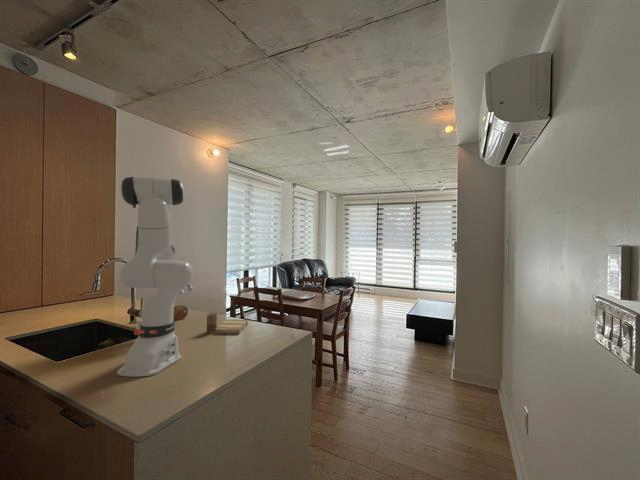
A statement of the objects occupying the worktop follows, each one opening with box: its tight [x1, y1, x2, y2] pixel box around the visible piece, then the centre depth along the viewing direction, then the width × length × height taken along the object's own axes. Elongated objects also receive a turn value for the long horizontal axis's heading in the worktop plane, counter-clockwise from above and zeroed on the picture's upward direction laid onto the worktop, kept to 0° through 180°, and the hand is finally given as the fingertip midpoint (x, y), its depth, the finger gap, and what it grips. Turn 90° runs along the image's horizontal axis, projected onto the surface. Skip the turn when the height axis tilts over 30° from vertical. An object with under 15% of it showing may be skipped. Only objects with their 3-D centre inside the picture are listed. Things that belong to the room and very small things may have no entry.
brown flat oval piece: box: [173, 304, 189, 321], centre depth 167 cm, size 15×3×8 cm, turn 143°
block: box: [206, 312, 218, 334], centre depth 148 cm, size 4×4×9 cm
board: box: [214, 319, 249, 335], centre depth 153 cm, size 16×12×2 cm
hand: (187, 291), depth 148 cm, fingers open, 8 cm apart
